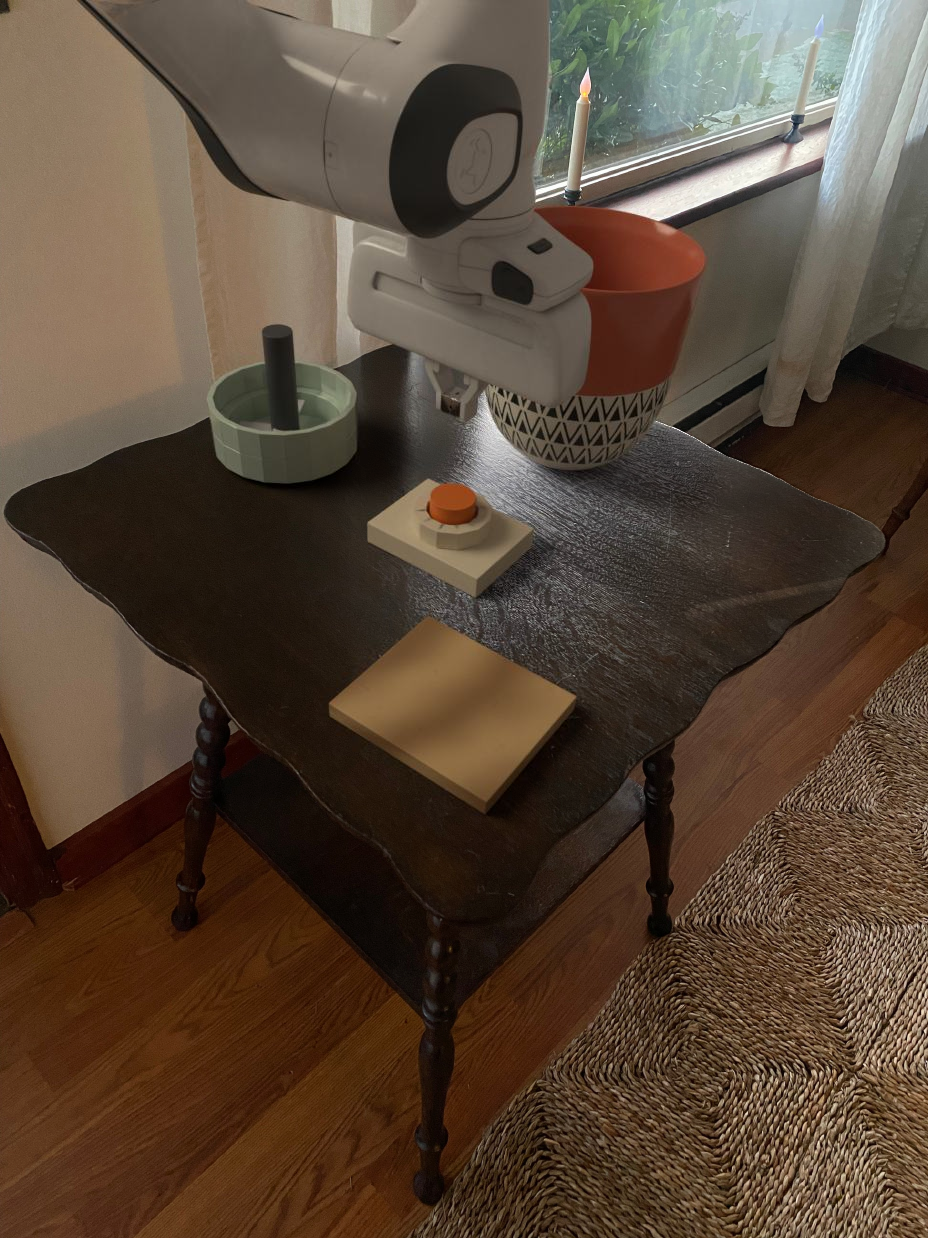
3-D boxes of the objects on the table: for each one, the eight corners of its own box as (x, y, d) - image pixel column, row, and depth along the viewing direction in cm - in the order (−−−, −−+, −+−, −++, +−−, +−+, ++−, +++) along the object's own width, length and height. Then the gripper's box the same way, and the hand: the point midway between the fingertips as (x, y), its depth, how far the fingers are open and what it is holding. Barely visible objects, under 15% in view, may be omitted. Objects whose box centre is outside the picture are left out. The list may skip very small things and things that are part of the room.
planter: (446, 413, 98) (458, 210, 83) (608, 395, 103) (646, 200, 88) (506, 519, 85) (532, 300, 70) (688, 493, 90) (749, 283, 75)
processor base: (367, 541, 81) (366, 505, 78) (427, 496, 87) (428, 461, 84) (475, 598, 76) (479, 562, 74) (532, 547, 82) (537, 511, 79)
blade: (226, 463, 87) (210, 349, 79) (252, 413, 94) (240, 303, 86) (323, 474, 87) (317, 360, 79) (342, 422, 94) (338, 313, 86)
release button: (420, 514, 79) (420, 497, 77) (447, 493, 81) (448, 477, 80) (457, 532, 77) (458, 515, 76) (483, 510, 79) (485, 494, 78)
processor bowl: (185, 451, 90) (175, 397, 85) (284, 397, 98) (280, 346, 94) (290, 506, 84) (285, 452, 80) (385, 443, 93) (385, 391, 89)
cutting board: (329, 716, 66) (328, 703, 65) (427, 628, 73) (428, 614, 72) (485, 815, 61) (487, 802, 60) (574, 709, 68) (577, 696, 67)
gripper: (325, 211, 65) (332, 384, 74) (568, 296, 57) (541, 477, 67) (380, 190, 69) (380, 357, 78) (615, 267, 61) (583, 442, 70)
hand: (456, 413), depth 72 cm, fingers closed
